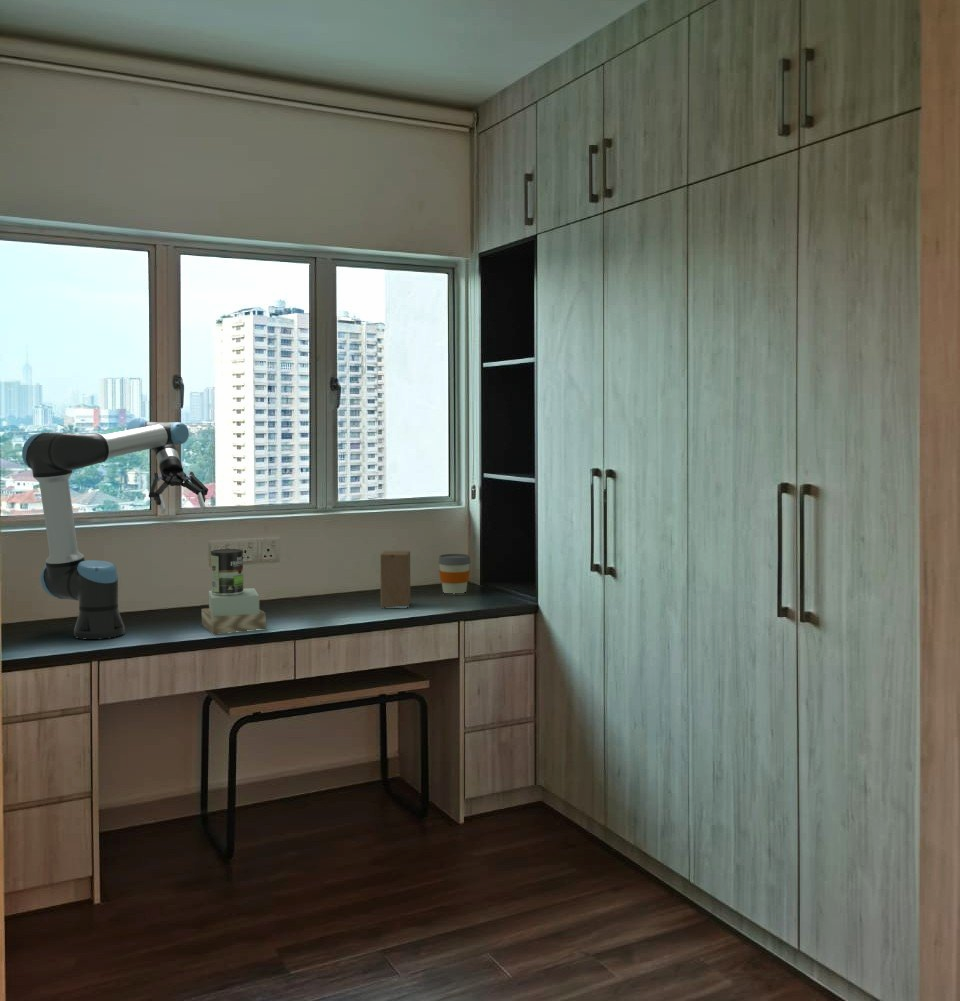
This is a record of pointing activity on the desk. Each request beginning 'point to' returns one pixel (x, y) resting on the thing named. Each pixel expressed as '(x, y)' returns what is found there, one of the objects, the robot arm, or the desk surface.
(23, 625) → the desk surface
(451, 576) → the reusable coffee cup
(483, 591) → the desk surface
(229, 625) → the birch base slab
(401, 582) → the wooden block
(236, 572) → the coffee can
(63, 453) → the robot arm
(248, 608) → the sage top slab
